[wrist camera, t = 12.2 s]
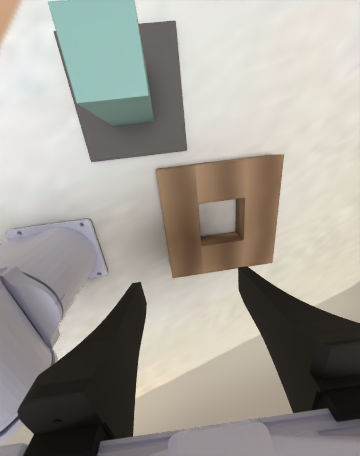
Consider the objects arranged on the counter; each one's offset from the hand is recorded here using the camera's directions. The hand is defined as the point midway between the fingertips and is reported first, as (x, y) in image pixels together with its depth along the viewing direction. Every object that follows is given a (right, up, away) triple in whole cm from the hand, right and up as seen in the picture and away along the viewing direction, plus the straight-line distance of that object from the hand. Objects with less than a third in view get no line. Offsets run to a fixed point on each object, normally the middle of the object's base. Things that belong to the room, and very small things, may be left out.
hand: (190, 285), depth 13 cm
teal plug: (-6, +16, +4) cm, 18 cm away
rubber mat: (-6, +16, +4) cm, 18 cm away
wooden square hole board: (+4, +6, +9) cm, 12 cm away
